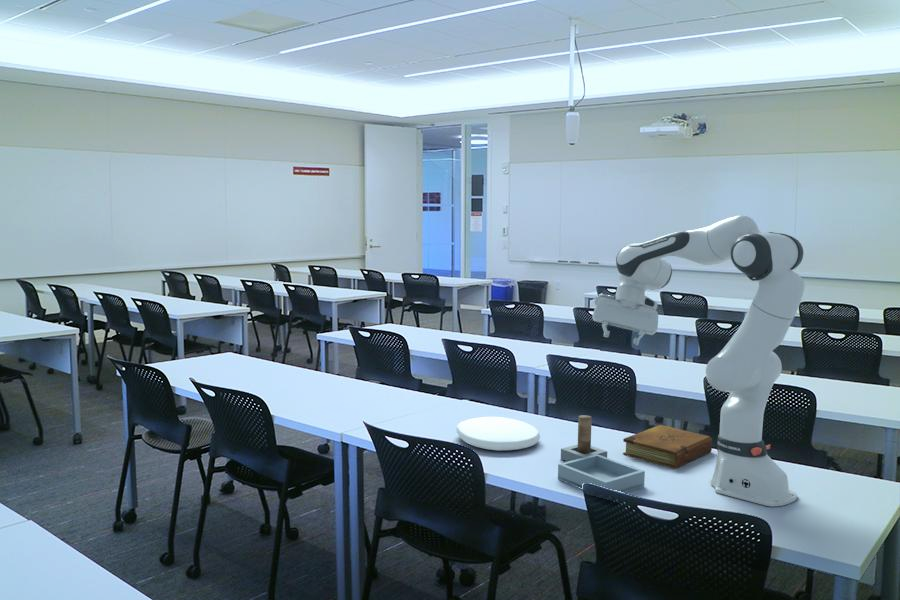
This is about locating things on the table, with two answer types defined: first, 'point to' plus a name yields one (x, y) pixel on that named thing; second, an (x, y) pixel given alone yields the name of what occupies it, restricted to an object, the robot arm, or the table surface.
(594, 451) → the socket block
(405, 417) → the table surface
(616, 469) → the tray
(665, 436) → the diary
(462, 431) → the plate
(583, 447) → the dowel
